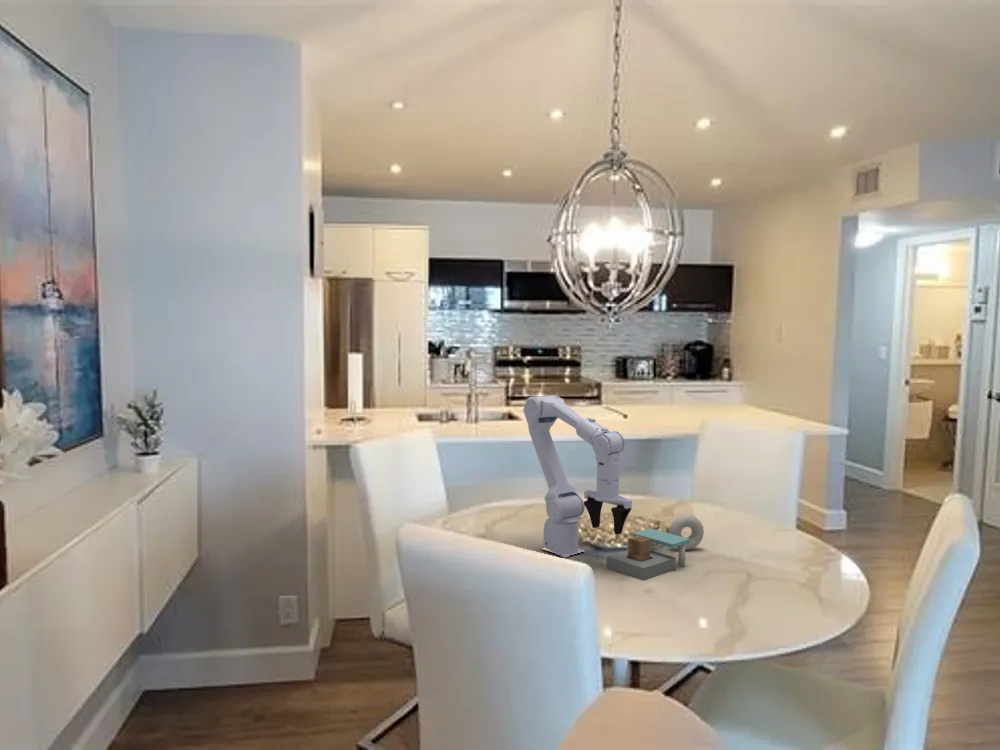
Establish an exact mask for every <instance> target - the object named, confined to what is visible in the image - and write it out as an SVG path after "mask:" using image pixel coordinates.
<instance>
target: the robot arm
mask: <svg viewBox="0 0 1000 750" xmlns="http://www.w3.org/2000/svg"><path fill="white" fill-rule="evenodd" d="M522 412H523V413H524V417H525V419H526V423H527V427H528V432H529V435H530V439H531V440H532V441H531V442H532V444H533V446H534V450H535V453H536V456H537V458H538V461H539V464H540V467H541V470H542V473H543V475H544V478H545V479H544V480H545V481H546V484H547V487H548V491H547V492H546V494H545V496H544V502H545V510H546V514H547V516H548V518H547V519H546V521H545V522H544V524H543V538H542V539H543V541H542V542H543V544H542V545H543V546H542V548H543V547H545V548H547V549H549V550H551V551H553V553H555V552H556V554H558V555H562V556H560V557H561V558H569V555H573V556H575V555H574V554H577V553H580V554H582V553H581V552H584V551H585V550H584V549H581V548H579V521H580V520H581V516H582V515H583V514H584V512H585V508H586V510H587V512H588V516H589V519H590V523H591V526H592V529H597V528H600V524H601V512H602V507H603V504H605V503H606V504H609V505H613V507H611V508H610V510H611V514H612V517H613V533H614V535H616V536H617V535H620V534H623V530H624V525H625V523H626V520H627V518H628V516H629V514H630V513H631V511H632V506H633V504H632V503H633V500H632V499H629V498H625V497H624V496H621V495H619V494H620V493H619V492H620V491H619V490H620V489H619V487H620V454H621V453H622V452H623V451H624V448H625V439H624V436H623V435H622V434H621V433H620V431H618V430H617V431H616V430H614V431H611V430H609V428H608V427H606V426H603V425H601V424H600V423H598V422H597V421H596V420H597V419H595V417H589V416H588V417H587V416H586V417H585V418H584V417H582V416H581V415H580V414H579V413H577V411H575V410H573V408H571V407H570V406H569V405H568V404H566V403H565V399H564V398H562V397H560V396H559V395H557V394H551V395H541V396H539V395H538V396H530V397H528V398H527V399H526V401H525V403H524V406H523V409H522ZM558 419H559V420H560V421H562V422H564V423H565V424H568V425H569V426H571V427H572V428H574V429H575V433H576V435H577V436H578V437H579V438H581V439H582V440H583V441H585V442H586V443H587V444H589V445H590V446H592V450H593V452H594V454H595V460H596V491H595V490H584V494H583V498H584V499H585V500H584V499H583V498H582V497H581V495H580V494H579V492H578V490H577V488H576V487H575V486H573V485H572V484H570V483H569V482H568V479H567V477H566V474H565V472H564V469H563V465H562V463H561V460H560V458H559V454H558V452H557V451H558V450H557V448H556V446H555V443H554V440H553V437H552V434H551V433H550V430H551V428H552V426H554V424H555V423H556V421H557V420H558ZM584 553H585V552H584ZM558 555H557V556H558ZM577 555H578V554H577ZM563 556H566V557H563Z"/></svg>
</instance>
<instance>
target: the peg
mask: <svg viewBox="0 0 1000 750" xmlns="http://www.w3.org/2000/svg"><path fill="white" fill-rule="evenodd" d="M627 539H628V540H627V550H628V558H631V559H634V560H637V561H640V562H643V561H646V560H649V559H650V540H651V539H649V538H645V537H641V536H635V537H633V536H632V537H629V538H627Z"/></svg>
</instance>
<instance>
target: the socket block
mask: <svg viewBox="0 0 1000 750" xmlns="http://www.w3.org/2000/svg"><path fill="white" fill-rule="evenodd" d="M606 567H607V568H606ZM606 567H605V568H606V569H609V570H612V571H616V572H618V573H622V574H625V575H627V576H631V577H633V578H637V579H639V580H642V581H645V580H648V579H651V578H653V577H656V576H659V575H662V574H666V573H668V572H670V571H674V570H676V557H674V556H672V555H668V554H665V553H662V552H658V551H655V550H652V549H651V550H650V559H649V560H646V561H643V562H640V561H637V560H634V559H631V558H628V549H627V550H626V549H625V550H624V551H619V552H617V553H613V554H610V555H606ZM673 569H674V570H673Z"/></svg>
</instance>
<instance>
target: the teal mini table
mask: <svg viewBox="0 0 1000 750" xmlns="http://www.w3.org/2000/svg"><path fill="white" fill-rule="evenodd" d="M635 536H641V537H645V538H649V539H651V540H650V550H651V551H652V543H653V544H656V545H661V546H664V547H666V548H667V547H668V548H671V549H674V548H677V547H678V546H679V548H678V566H679V567H680V566H683V567H682V568H684V567H686V550H685V544H688V543H690V539H688V538H687V537H684V536H682V535H681V536H682V537H681V536H677V535H673V534H670V533H669V532H665V531H662V530H659V529H654V528H650V527H649V528H646V529H643V530H638V531H636V532H632V537H635Z"/></svg>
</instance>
